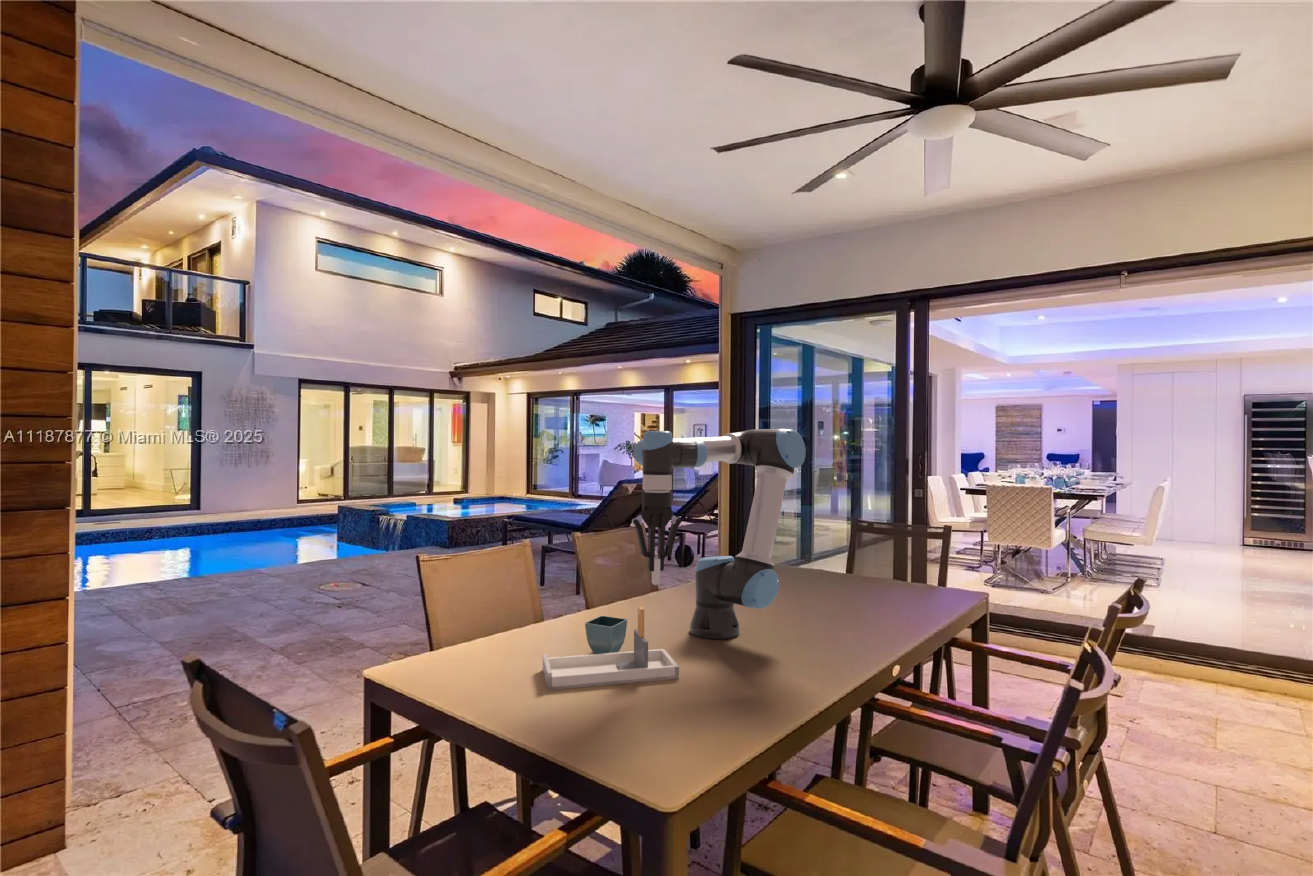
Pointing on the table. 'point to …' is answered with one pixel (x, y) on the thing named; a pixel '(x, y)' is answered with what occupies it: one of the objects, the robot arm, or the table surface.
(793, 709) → the table surface
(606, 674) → the white tray
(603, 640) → the flower pot
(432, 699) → the table surface
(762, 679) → the table surface
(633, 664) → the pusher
